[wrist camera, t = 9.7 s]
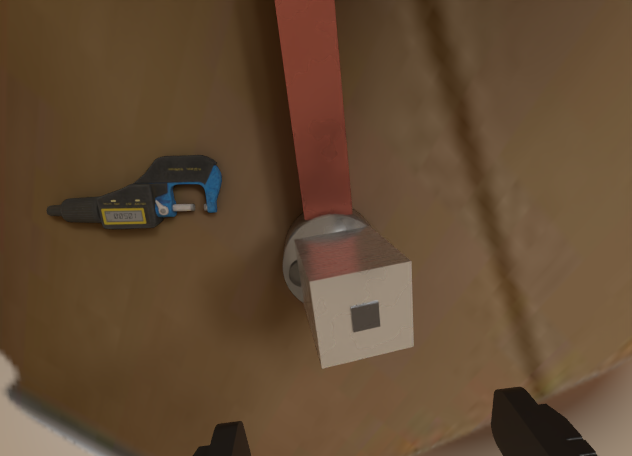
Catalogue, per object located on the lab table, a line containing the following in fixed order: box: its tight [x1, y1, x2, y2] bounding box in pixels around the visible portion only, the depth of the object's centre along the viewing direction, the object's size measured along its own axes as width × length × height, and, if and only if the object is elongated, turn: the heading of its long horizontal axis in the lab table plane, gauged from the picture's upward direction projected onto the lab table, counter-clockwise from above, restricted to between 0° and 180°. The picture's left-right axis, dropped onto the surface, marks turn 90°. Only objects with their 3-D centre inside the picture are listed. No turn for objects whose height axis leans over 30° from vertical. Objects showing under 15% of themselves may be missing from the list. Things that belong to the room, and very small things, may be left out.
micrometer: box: [47, 155, 222, 229], centre depth 22 cm, size 12×2×5 cm
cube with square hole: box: [294, 226, 414, 369], centre depth 18 cm, size 5×5×6 cm
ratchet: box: [275, 0, 371, 303], centre depth 19 cm, size 27×7×6 cm, turn 7°
